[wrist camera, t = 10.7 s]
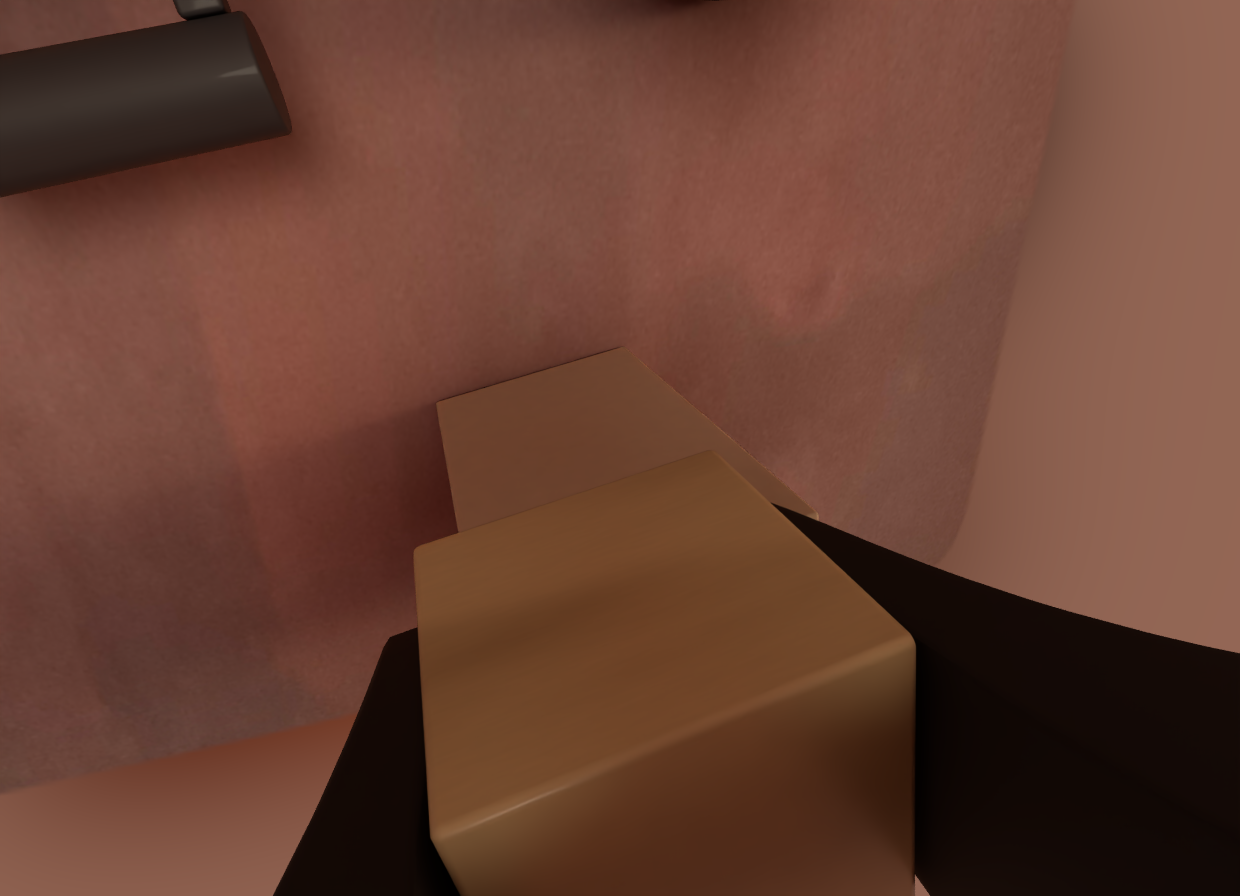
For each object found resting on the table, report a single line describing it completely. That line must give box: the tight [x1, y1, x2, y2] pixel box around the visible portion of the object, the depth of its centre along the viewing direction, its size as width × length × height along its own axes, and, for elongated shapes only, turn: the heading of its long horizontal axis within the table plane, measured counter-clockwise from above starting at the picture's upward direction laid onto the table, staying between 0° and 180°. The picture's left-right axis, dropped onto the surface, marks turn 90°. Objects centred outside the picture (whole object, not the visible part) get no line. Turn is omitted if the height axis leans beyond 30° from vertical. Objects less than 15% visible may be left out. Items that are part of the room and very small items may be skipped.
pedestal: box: [436, 347, 819, 533], centre depth 15 cm, size 5×5×10 cm
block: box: [413, 450, 916, 896], centre depth 7 cm, size 4×4×4 cm
